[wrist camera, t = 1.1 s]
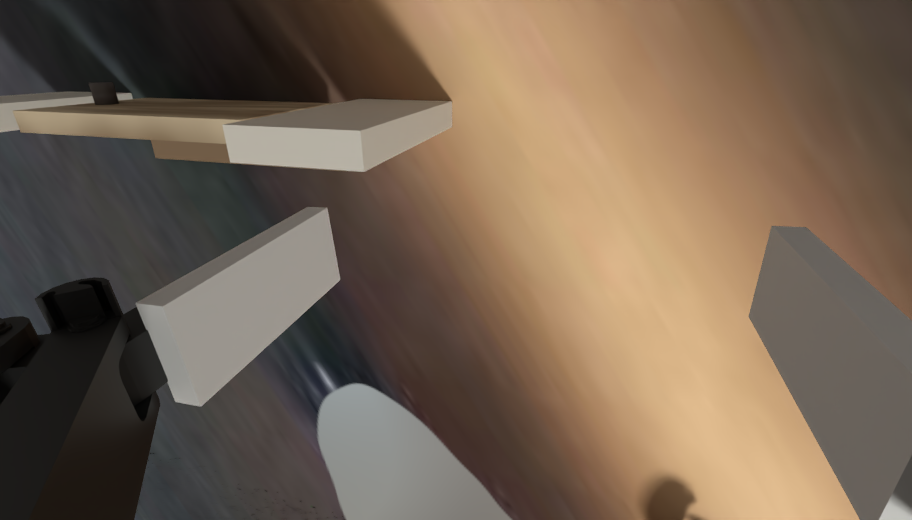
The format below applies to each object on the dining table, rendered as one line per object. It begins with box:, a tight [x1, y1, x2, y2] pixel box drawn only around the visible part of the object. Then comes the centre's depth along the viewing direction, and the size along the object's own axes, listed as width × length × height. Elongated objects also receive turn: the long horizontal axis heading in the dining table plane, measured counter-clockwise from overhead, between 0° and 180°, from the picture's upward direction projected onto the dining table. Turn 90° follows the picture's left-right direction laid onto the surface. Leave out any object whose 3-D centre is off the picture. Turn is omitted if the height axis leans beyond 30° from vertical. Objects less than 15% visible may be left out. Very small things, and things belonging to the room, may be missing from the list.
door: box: [13, 82, 333, 144], centre depth 35 cm, size 4×19×11 cm, turn 90°
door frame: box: [0, 91, 452, 172], centre depth 35 cm, size 6×40×16 cm, turn 90°
